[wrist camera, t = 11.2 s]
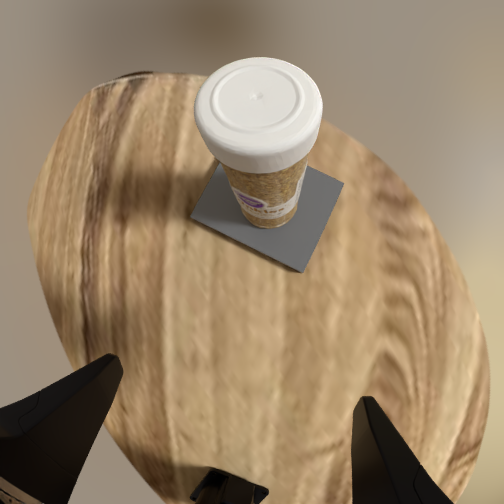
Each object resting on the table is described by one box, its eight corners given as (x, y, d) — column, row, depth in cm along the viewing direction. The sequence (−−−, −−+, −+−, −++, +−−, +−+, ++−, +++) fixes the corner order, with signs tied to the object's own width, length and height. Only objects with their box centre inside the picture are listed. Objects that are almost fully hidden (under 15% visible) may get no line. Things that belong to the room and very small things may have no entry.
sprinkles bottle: (235, 224, 22) (173, 144, 8) (247, 170, 22) (210, 50, 9) (293, 235, 21) (316, 163, 8) (303, 180, 21) (328, 61, 8)
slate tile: (301, 273, 22) (303, 272, 21) (193, 219, 23) (190, 216, 22) (341, 187, 22) (344, 183, 21) (237, 141, 23) (235, 136, 22)
